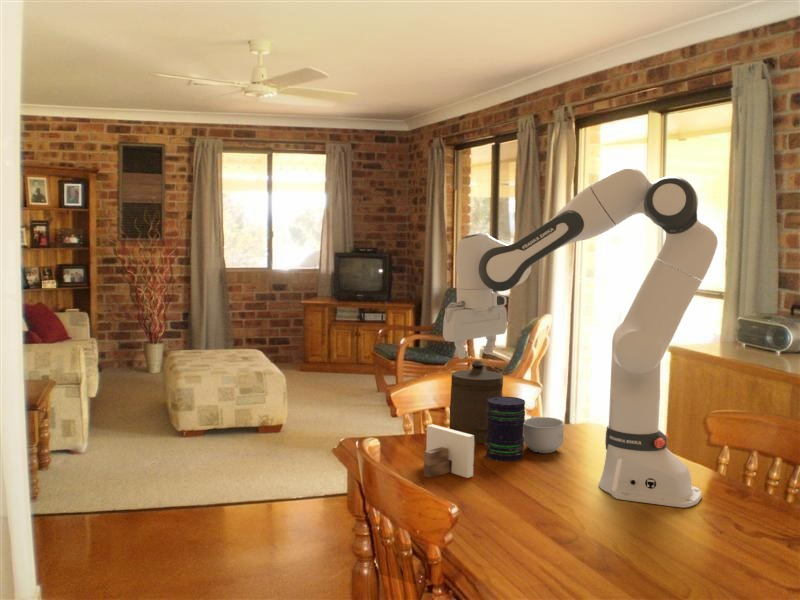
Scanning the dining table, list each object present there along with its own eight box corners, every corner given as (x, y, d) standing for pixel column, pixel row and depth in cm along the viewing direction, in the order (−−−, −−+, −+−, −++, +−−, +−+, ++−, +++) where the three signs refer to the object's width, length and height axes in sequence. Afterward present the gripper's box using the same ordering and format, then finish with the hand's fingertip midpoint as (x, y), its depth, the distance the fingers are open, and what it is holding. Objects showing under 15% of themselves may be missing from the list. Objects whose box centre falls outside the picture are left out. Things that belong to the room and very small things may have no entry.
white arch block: (473, 476, 197) (474, 435, 196) (467, 477, 196) (468, 436, 195) (431, 463, 207) (432, 424, 206) (426, 464, 206) (426, 425, 205)
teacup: (566, 456, 216) (567, 426, 215) (524, 455, 216) (525, 425, 215) (556, 442, 229) (558, 414, 229) (518, 441, 230) (519, 413, 229)
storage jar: (528, 454, 216) (530, 399, 215) (516, 464, 208) (518, 406, 206) (493, 449, 221) (495, 394, 219) (479, 458, 212) (481, 401, 211)
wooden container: (497, 431, 241) (499, 356, 239) (505, 444, 226) (507, 365, 224) (446, 430, 240) (448, 356, 238) (451, 444, 225) (453, 365, 223)
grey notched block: (468, 463, 207) (469, 440, 207) (474, 465, 206) (475, 441, 205) (423, 476, 196) (424, 451, 196) (429, 478, 195) (430, 453, 194)
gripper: (455, 303, 191) (456, 362, 192) (510, 297, 205) (511, 352, 206) (436, 302, 196) (437, 360, 197) (491, 296, 210) (492, 350, 211)
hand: (475, 356), depth 202 cm, fingers open, 8 cm apart
